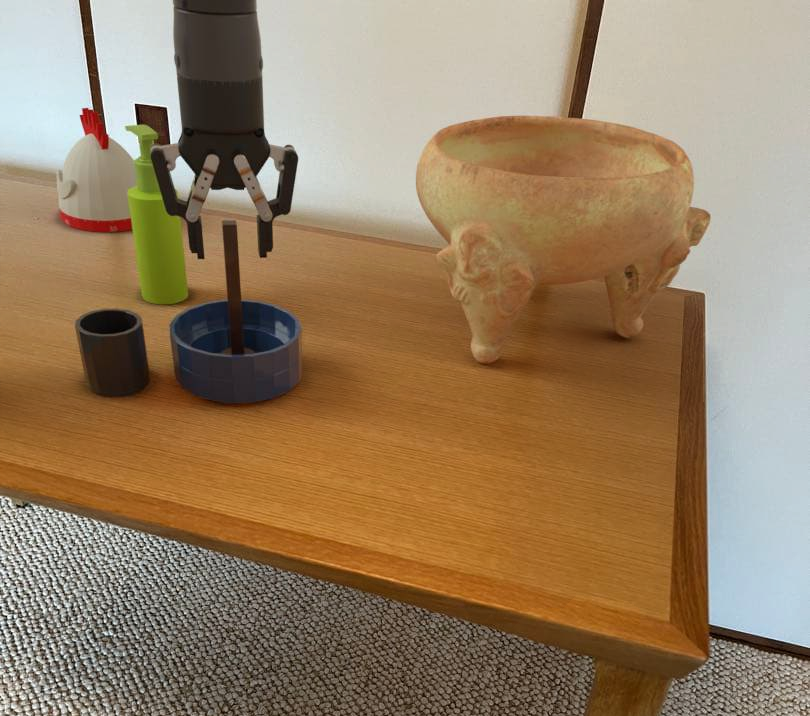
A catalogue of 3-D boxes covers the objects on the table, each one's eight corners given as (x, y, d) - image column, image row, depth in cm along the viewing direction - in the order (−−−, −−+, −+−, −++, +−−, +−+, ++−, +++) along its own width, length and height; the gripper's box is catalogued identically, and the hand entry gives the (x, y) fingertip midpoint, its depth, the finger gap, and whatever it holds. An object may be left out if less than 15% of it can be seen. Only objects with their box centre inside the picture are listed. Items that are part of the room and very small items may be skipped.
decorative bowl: (589, 266, 126) (625, 101, 111) (709, 376, 100) (777, 180, 85) (374, 274, 117) (383, 96, 103) (445, 395, 92) (470, 182, 77)
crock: (85, 398, 86) (72, 337, 81) (88, 368, 91) (77, 309, 86) (150, 395, 87) (141, 334, 83) (150, 365, 92) (141, 307, 88)
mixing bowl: (177, 411, 85) (170, 359, 81) (174, 349, 95) (168, 301, 92) (310, 404, 88) (309, 353, 84) (293, 344, 99) (292, 297, 95)
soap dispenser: (173, 280, 111) (155, 119, 98) (195, 299, 106) (179, 133, 94) (131, 288, 108) (107, 123, 95) (153, 308, 104) (130, 138, 91)
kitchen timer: (132, 197, 135) (118, 96, 125) (169, 223, 127) (157, 117, 117) (47, 209, 128) (26, 103, 118) (81, 237, 120) (61, 126, 110)
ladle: (221, 380, 90) (209, 229, 79) (220, 363, 93) (208, 215, 82) (258, 379, 90) (251, 229, 80) (255, 361, 93) (248, 215, 83)
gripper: (294, 62, 77) (297, 241, 87) (135, 57, 73) (158, 243, 84) (305, 80, 71) (306, 268, 82) (134, 74, 68) (159, 271, 79)
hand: (231, 255), depth 83 cm, fingers open, 5 cm apart
